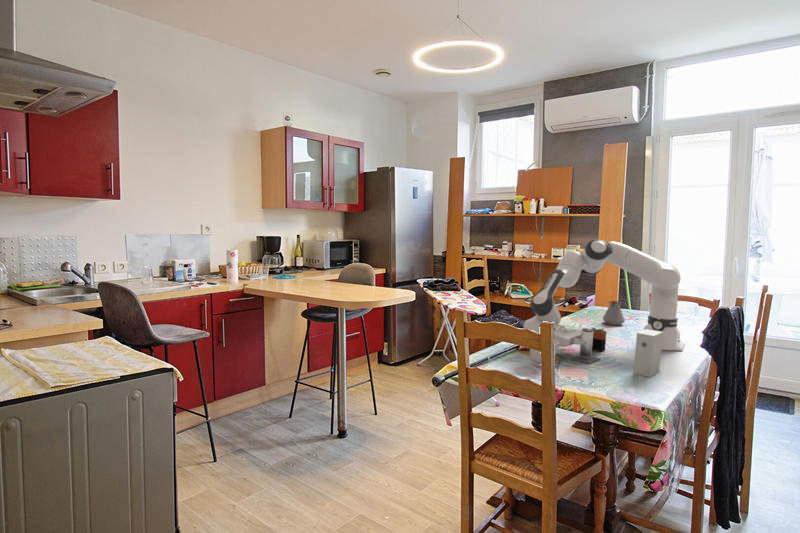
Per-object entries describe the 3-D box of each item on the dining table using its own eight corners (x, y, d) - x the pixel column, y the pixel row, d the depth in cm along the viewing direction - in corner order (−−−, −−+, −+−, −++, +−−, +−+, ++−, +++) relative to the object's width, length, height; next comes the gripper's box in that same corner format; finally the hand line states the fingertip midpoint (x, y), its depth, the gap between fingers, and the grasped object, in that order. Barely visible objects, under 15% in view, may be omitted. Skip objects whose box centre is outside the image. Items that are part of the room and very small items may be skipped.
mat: (581, 355, 202) (581, 354, 202) (600, 359, 196) (600, 358, 196) (570, 359, 195) (570, 358, 195) (589, 364, 189) (589, 363, 189)
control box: (643, 367, 187) (646, 328, 185) (659, 371, 183) (663, 331, 181) (633, 373, 180) (636, 333, 178) (649, 377, 175) (653, 336, 174)
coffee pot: (603, 320, 275) (605, 295, 273) (625, 323, 269) (627, 298, 268) (599, 327, 256) (601, 301, 255) (622, 330, 251) (624, 303, 249)
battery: (601, 352, 208) (603, 330, 207) (586, 349, 212) (587, 327, 211) (605, 350, 211) (606, 329, 210) (590, 347, 216) (592, 326, 214)
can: (582, 352, 199) (584, 327, 198) (593, 355, 195) (595, 329, 194) (577, 354, 196) (579, 329, 194) (588, 357, 192) (590, 331, 191)
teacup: (555, 359, 194) (556, 336, 193) (559, 371, 180) (560, 345, 179) (525, 357, 197) (526, 334, 196) (526, 367, 183) (528, 343, 182)
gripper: (568, 337, 212) (598, 344, 202) (545, 345, 198) (576, 353, 188) (569, 324, 211) (599, 330, 201) (546, 331, 197) (578, 337, 187)
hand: (588, 341), depth 194 cm, fingers closed on can, 5 cm apart
